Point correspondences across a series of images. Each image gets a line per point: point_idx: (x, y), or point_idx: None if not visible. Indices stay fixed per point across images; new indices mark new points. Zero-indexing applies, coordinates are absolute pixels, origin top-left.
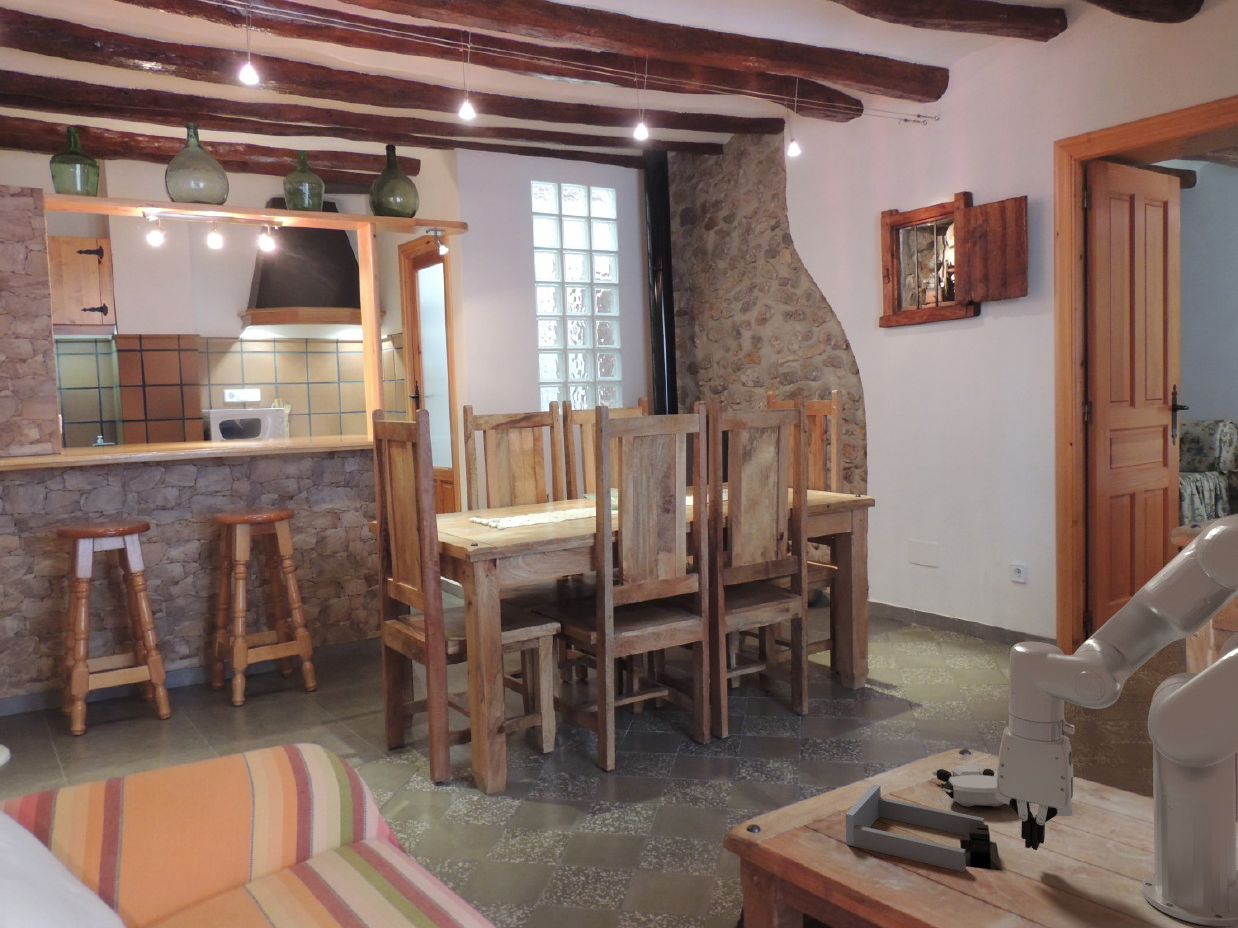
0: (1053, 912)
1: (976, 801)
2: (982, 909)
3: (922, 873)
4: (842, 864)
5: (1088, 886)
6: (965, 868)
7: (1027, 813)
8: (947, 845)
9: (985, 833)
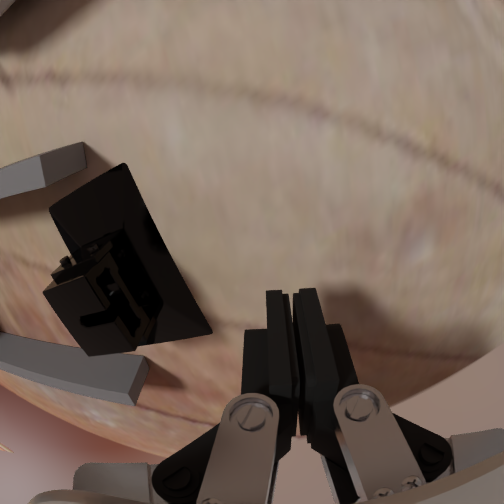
0: None
1: (3, 7)
2: None
3: None
4: (30, 388)
5: (429, 303)
6: (144, 361)
7: (276, 472)
8: (90, 386)
9: (121, 348)
